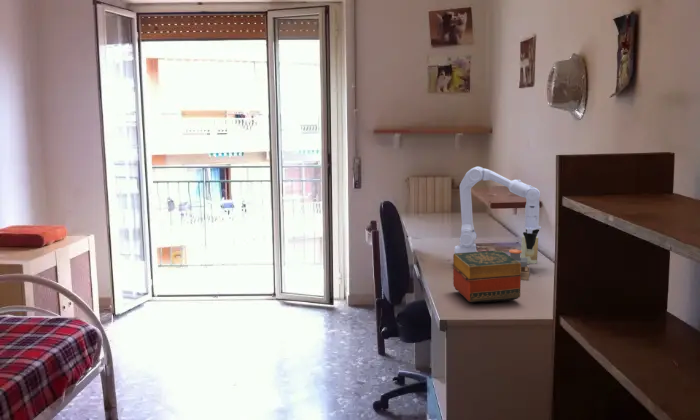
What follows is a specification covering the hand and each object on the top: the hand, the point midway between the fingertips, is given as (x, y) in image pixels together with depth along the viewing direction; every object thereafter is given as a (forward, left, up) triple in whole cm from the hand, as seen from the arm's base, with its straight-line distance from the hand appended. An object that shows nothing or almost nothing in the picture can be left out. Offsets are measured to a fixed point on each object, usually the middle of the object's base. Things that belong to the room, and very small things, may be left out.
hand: (530, 247), depth 260 cm
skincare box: (-1, +15, -10) cm, 18 cm away
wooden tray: (-11, -13, -10) cm, 19 cm away
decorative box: (-15, -49, -10) cm, 52 cm away
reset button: (-6, -2, -6) cm, 9 cm away
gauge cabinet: (-6, -3, -10) cm, 12 cm away
